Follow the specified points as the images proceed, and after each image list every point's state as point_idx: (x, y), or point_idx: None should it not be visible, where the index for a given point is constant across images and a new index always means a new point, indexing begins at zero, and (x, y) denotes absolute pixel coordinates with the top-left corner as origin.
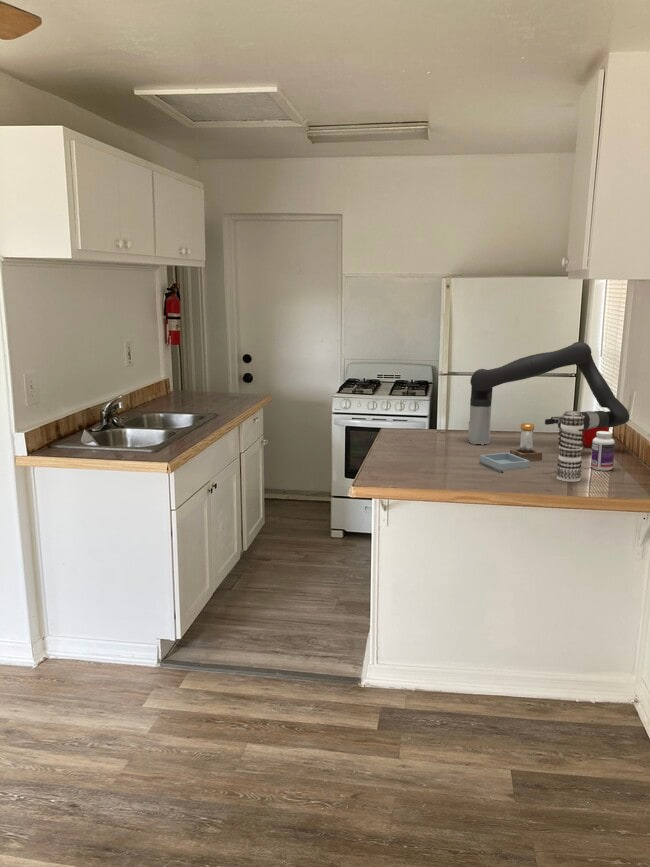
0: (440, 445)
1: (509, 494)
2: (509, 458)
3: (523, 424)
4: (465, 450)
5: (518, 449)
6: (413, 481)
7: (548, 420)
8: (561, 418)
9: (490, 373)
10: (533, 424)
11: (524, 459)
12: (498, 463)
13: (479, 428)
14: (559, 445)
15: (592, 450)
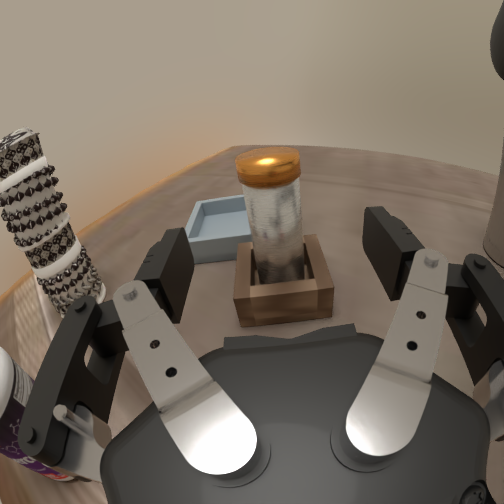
0: (455, 198)
1: (115, 210)
2: None
3: (275, 149)
4: (421, 215)
5: (315, 252)
6: (226, 161)
7: (374, 227)
8: (395, 321)
9: (497, 17)
10: (259, 163)
11: (200, 238)
12: (206, 201)
13: (495, 200)
14: (66, 213)
15: (33, 380)
